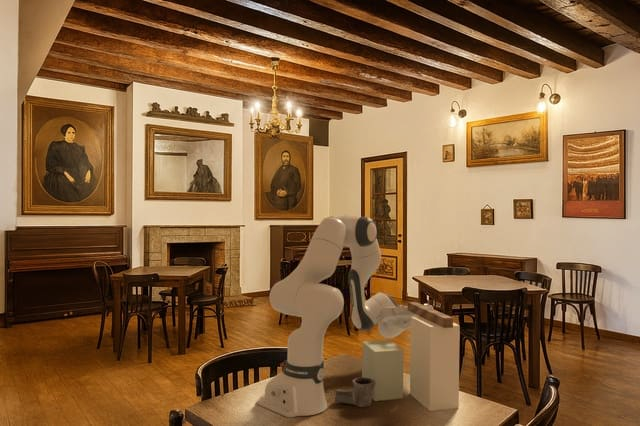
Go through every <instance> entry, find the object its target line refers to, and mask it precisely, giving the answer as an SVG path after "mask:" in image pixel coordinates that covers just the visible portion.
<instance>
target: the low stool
mask: <svg viewBox="0 0 640 426" xmlns="http://www.w3.org/2000/svg"><path fill="white" fill-rule="evenodd" d="M361 351H362V354H361V355H362V356H361V359H362V361H361V362H362V363H361V365H362V366H361V367H362V368H361V377H365V378H370V379H373V380H374V381H375V382H376V384H375V386H374V388H373V392H372V398H371V400H373V401H374V402H380V400H381V401H390V400H401V399H403V398H404V349H403V348H402V347H400V346H399V345H398V344H396V343H394V342H393V341H391V340H390V339H384V340H383V339H382V340H369V341H368V340H367V341H366V340H365V341H362V350H361Z"/></svg>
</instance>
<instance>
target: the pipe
mask: <svg viewBox="0 0 640 426" xmlns="http://www.w3.org/2000/svg"><path fill="white" fill-rule="evenodd" d="M351 381H352V391H351V390H343V389H336V390H335V393H334V402H335V403H340V404H346V405H353V406H356V407H359V408H368V407H369V406H371V405H372V392H373V388H374V386H375V384H376V382H375V381H374V380H373V379H370V378H365V377H362V376H360V377H356V378H353V379H352V380H351Z"/></svg>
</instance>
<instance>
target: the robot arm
mask: <svg viewBox="0 0 640 426" xmlns="http://www.w3.org/2000/svg"><path fill="white" fill-rule="evenodd" d="M377 235H378V229H377V224H376V222H375V221H374V219H372V218H370V217H368V216H353V215H340V216H339V215H338V216H328V217H324V218H323V219H322V220H321V222H319V224H318V226H317V228H316V229H315V231H314V233H313V234H312V237H311V239H310V241H309V244H308V247H307V249H306V251H305V253H304V255H303V257H302V259H301V261H300V262H299V264H298V265H297V267H295V269H294V270H293V271H292V272H291V273H290V274H289V275H287V276H286V277H285V278H284V279H283V278H282V280H279V281H278V282H276V283H274V284H273V286H272V288H270V291H269V303H270V306H271V307H272V309H273V310H275V311H276V312H278V313H281V314H284V315H286V316H287V315H288V316H294V317H298V318H301V323H300V327H299V328H297V329H294V330H293V331H291V333H290V334H289V335H288V338H287V359H286V360H284V361H283V362H281V363H280V367H279V368H282V366H284V368H283V371H282V370H281V372H279V373H278V374H276V375H275V376H274V377H273V378H271V379H270V380H269V381H268V382H267V383H266V385H265V389H264V393H263V394H262V395H260V396H259V397H258V399H257V402H256V404H257V405H258V406H261V407H263V408H265V409H268V410H270V411H272V412H275V413H277V414H279V415H282V416H284V417H286V418H295V417H298V416H299V417H301V416H302V417H304V416H313V415H318V414H320V413H322V412H324V411H326V409H327V408H328V404H327V400H326V395H325V388H324V377H325V376H324V375H325V366H324V365H325V363H324V360H323V355H324V354H323V353H324V352H323V351H324V339H325V334H326V331H327V329H328V328H329V326H330V324H331V323H332V322H333V321H335V320H336V319H338V318H339V316H340V315H341V314H342V313H343V310H344V304H345V300H344V295H343V293H342V291H341V290H340V289H339V288H337V287H333V285H332V286H331V285H328V284H325V283H321V282H322V281H324V280H326V279H328V278H330V277H331V276H333V274H334V273H335V271H336V269H337V265H338V263H339V260H340V258H341V255H342V252H343V249H344V247H347V248H349V250H350V255H351V267H350V269H349V272H348V287H349V297H350V298H349V299H350V305H351V307H350V309H351V310H350V319H351V323H352V324H353V326H354V327H355V329H357V330H360V331H365V332H369V331H370V330H371V329H372V328H373V327H375V325H377V324H378V326H377V328H378V329H377V330H378V333H379V335H380V336H382V337H383V338H384V339H385V338H386V339H393V338H396V337H398V336H399V335H401V334H402V333H404V331H406V330H409V329H411V317H420V316H418V315H416V314H414V313H412V312H410V311H408V305H407V306H406V305H404V304H399V305H398V304H397V302H396V300H395V299H394V298H393V297H392V296H391V295H390V294H388V293H386V292H381V291H378V292H377V293H376V294H374V295H372V296H370V298H369V299H367V300H366V299H365V287H366V284H367V282H368V281H369V279H370V278H371V277H372V276H373V275H374V273H375V272H376V271H377V270H378V269H379V267H380V265H381V263H382V254H381V249H380V245H379V242H378V241H379V240H378V238H377ZM423 305H424V306H427V307H429V308H431V309H434V307H433V305H431V304H430V305H429V303H423Z"/></svg>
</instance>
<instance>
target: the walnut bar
mask: <svg viewBox="0 0 640 426" xmlns="http://www.w3.org/2000/svg"><path fill="white" fill-rule="evenodd" d="M407 306H408V311H410V312H412V313H414V314H416V315H418V316H420V317H422V318H425V319H427V320H429V321H431V322H433V323H435V324H437V325H439V326H441V327H443V328H453V323H454V317H452V316H450V315H448V314H445V313H443V312H440V311H438V310H436V309H434V308H433V309H431V308H429V307H427V306H424V304H421V303H420V302H417V301H408V302H407Z"/></svg>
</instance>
